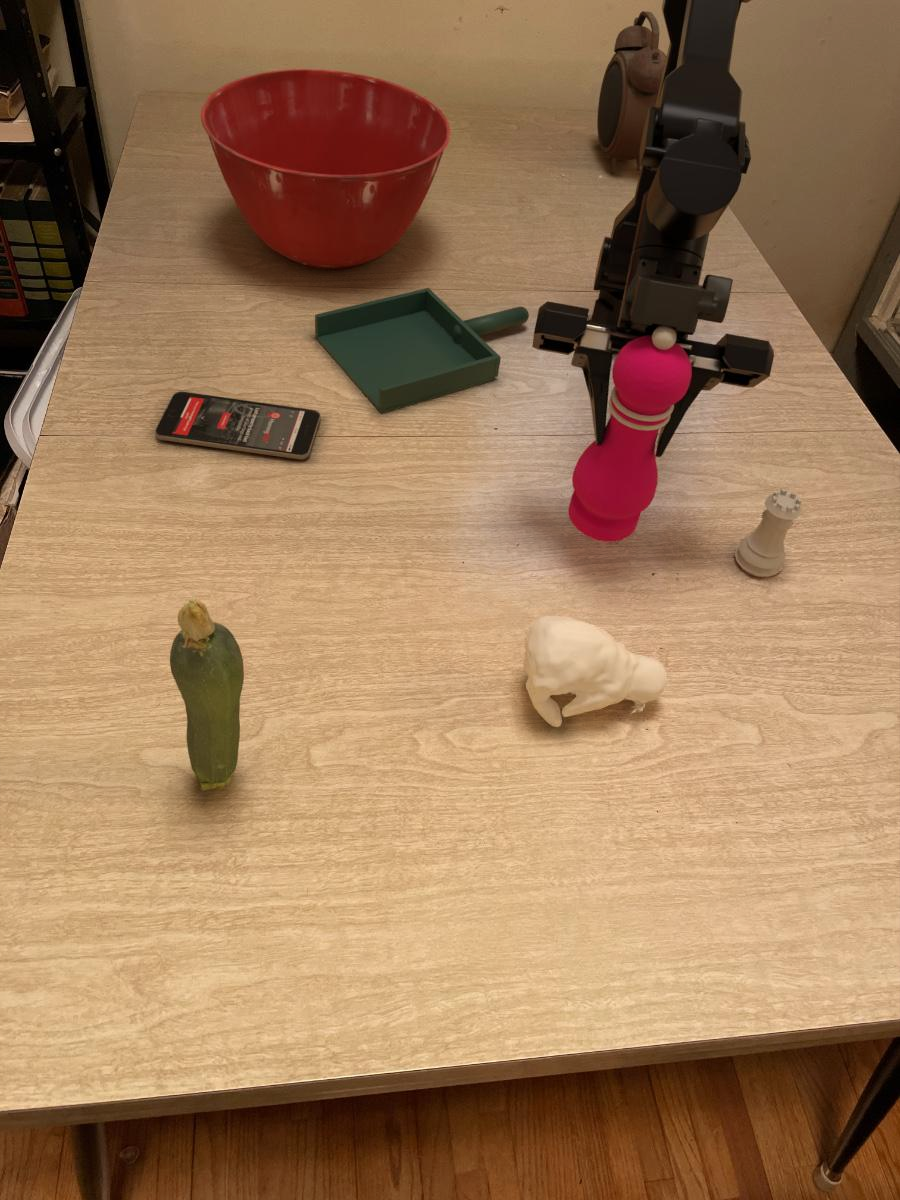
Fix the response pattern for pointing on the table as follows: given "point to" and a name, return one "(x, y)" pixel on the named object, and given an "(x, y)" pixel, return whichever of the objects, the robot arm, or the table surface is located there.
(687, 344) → the robot arm
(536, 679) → the cream lumpy piece
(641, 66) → the alarm clock
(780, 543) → the rook chess piece
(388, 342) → the scoop
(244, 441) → the smartphone
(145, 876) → the table surface
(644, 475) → the pepper mill
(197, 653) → the vegetable
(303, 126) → the mixing bowl
